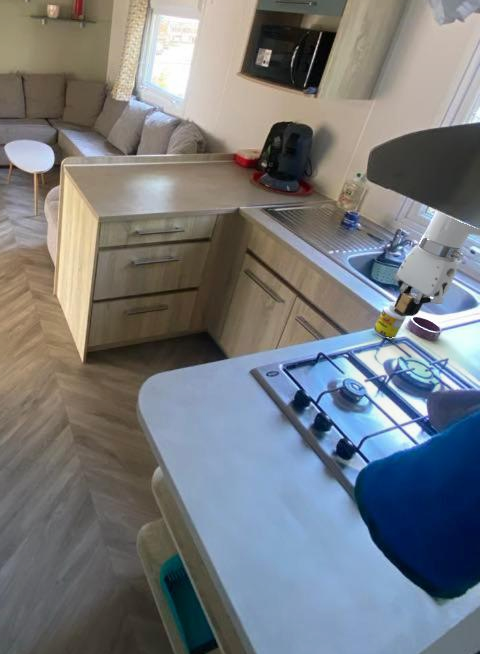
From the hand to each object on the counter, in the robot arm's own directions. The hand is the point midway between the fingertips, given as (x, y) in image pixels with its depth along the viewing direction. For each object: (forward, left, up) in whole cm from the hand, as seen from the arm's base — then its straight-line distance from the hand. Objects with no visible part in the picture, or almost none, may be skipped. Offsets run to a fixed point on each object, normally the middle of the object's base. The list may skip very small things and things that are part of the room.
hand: (404, 310), depth 108 cm
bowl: (-20, -18, -15) cm, 31 cm away
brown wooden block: (0, 0, -1) cm, 1 cm away
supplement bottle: (-6, -12, -16) cm, 21 cm away
